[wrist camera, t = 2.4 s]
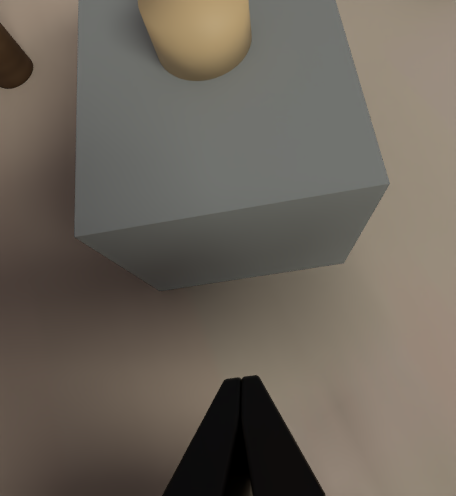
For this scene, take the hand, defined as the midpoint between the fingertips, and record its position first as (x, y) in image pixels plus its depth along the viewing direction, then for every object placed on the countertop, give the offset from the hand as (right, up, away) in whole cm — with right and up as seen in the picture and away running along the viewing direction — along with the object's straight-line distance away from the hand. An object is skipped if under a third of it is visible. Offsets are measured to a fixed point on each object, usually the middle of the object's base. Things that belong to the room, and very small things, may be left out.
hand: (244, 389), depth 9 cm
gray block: (0, +8, +13) cm, 16 cm away
